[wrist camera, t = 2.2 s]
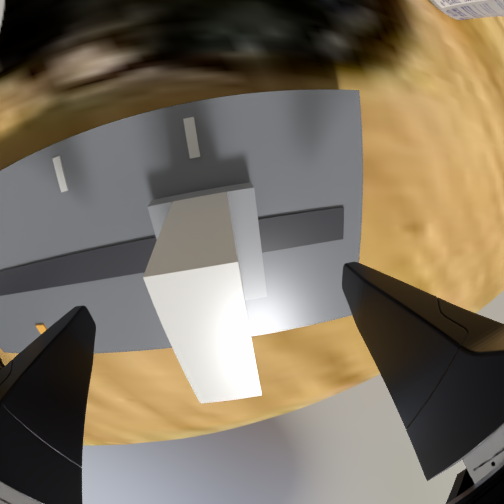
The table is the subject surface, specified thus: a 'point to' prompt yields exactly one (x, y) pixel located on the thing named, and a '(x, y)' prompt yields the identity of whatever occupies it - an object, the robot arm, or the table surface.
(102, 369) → the table surface
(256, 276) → the fader tab
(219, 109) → the fader console
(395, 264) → the table surface
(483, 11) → the energy drink
